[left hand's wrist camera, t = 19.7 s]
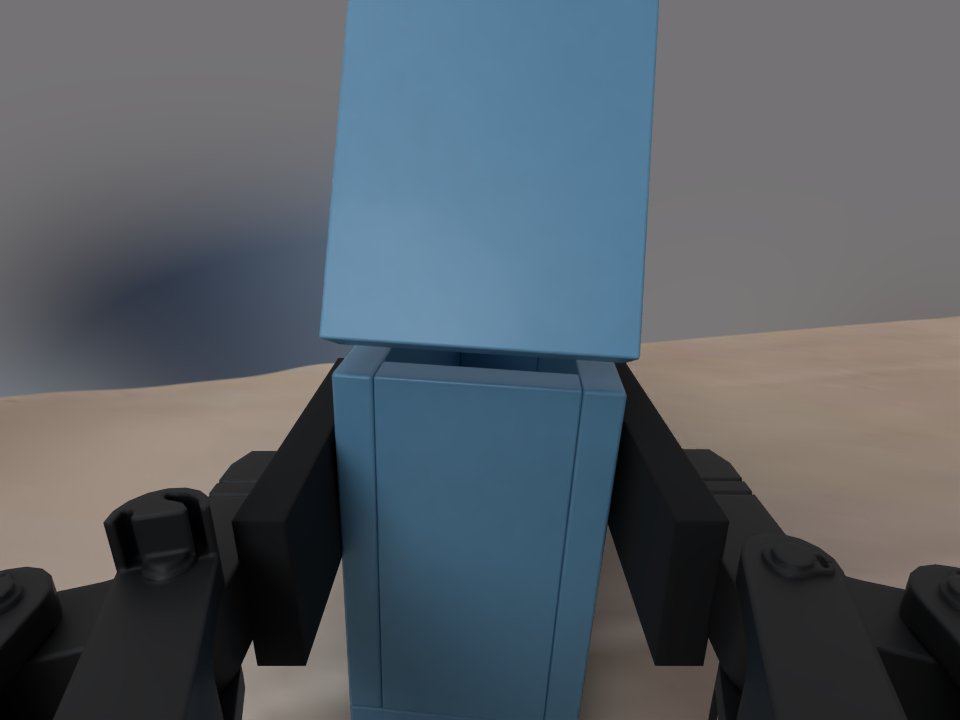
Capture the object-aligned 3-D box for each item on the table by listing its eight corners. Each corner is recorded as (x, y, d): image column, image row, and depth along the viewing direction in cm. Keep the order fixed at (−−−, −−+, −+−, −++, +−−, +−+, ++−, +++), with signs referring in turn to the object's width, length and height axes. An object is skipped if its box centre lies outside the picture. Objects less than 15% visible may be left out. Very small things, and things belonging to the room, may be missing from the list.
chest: (444, 410, 28) (448, 229, 25) (547, 418, 28) (565, 235, 25) (350, 729, 13) (330, 373, 10) (574, 752, 13) (628, 393, 10)
